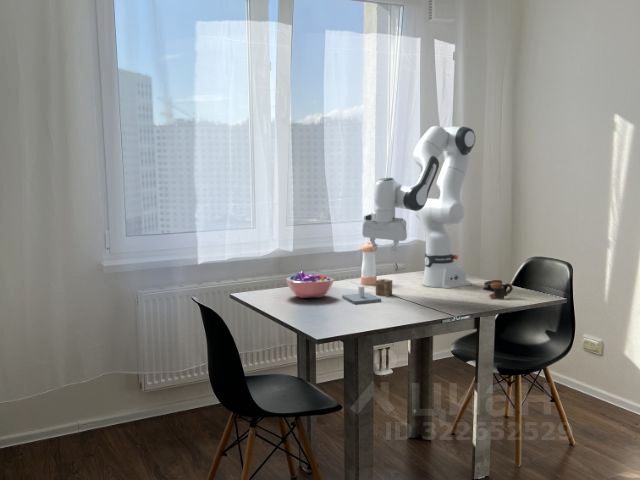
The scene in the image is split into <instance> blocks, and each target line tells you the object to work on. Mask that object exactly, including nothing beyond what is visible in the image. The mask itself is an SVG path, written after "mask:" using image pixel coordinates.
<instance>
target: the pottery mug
mask: <svg viewBox="0 0 640 480" xmlns="http://www.w3.org/2000/svg"><path fill="white" fill-rule="evenodd" d="M507 289H508V290H507ZM513 289H514V287H513V285H512V284H511V283H503V281H502V280H500V279H492V280H488V281H486V282H484V285H483V288H482V290H483V291H487V292H492V293H490V294H489V296H490V300H495V299H502V300H504V299H505V297H507V296H508V294H509V295H510V294H511V293H512V292H513Z"/></svg>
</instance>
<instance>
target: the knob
mask: <svg viewBox="0 0 640 480" xmlns="http://www.w3.org/2000/svg"><path fill="white" fill-rule="evenodd" d="M392 295H393V279H389V278H388V279H386V278H380V279H377V280H376V284H375V296H380V297H388V296H392Z"/></svg>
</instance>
